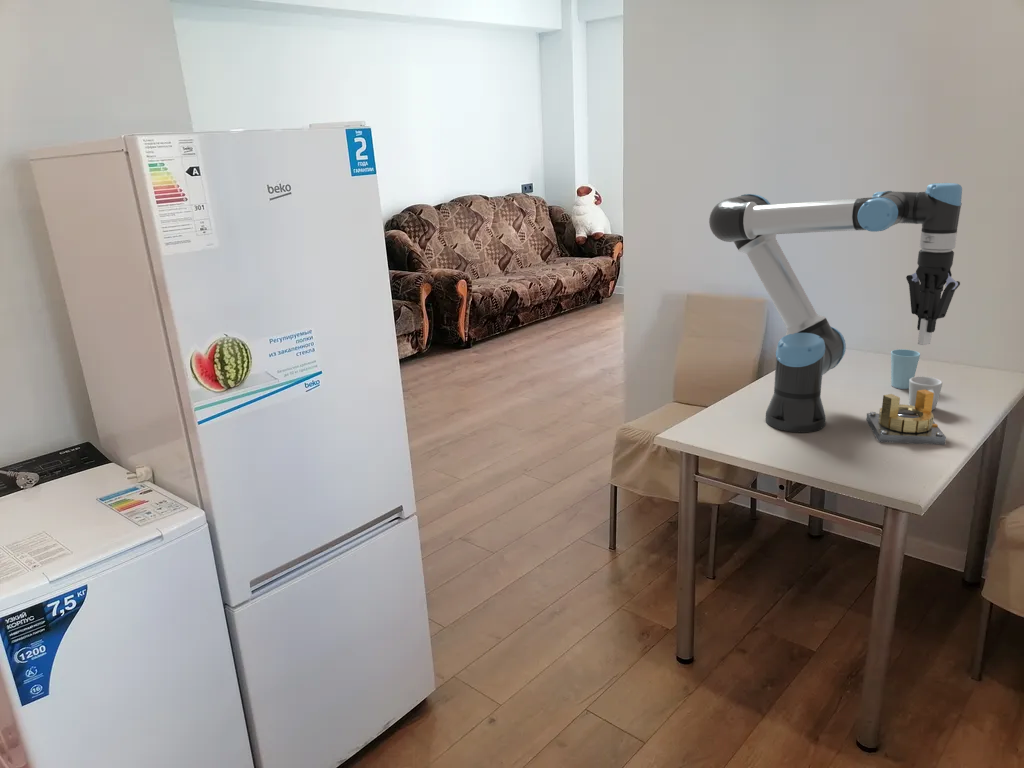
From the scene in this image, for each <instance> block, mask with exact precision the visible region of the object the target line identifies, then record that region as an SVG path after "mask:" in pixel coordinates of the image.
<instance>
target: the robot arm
mask: <svg viewBox="0 0 1024 768" xmlns="http://www.w3.org/2000/svg"><path fill="white" fill-rule="evenodd" d="M962 196H963V187H962V185H961V184H959V183H953V182H944V183H943V182H942V183H940V182H939V183H938V182H936V183H930V184H928V185H927V186H926V189H925V191H919V192H918V191H915V192H914V191H892V190H886V191H885V190H884V191H875V192H874V193H873V195H872V196H871V197H860V198H847V199H833V200H832V199H831V200H830V199H829V200H821V201H820V200H817V201H803V202H801V201H800V202H789V203H787V202H786V203H772V204H771V202H770V201H769V200H768V199H767V198H766V197H764V196H762V195H759V194H756V193H755V194H754V193H753V194H752V193H746V194H741V195H740V196H735V197H729V198H726V199H723V200H721V201H719V202H718V203H717V204H716V205H715V206H714V207H713V209H712V210H711V212H710V214H709V219H708V220H709V221H708V223H709V228H710V231H711V232H712V234H713V236H715V237H716V238H717V239H719V240H720V241H722V242H726V243H734V245H735V247H736V249H737V251H738V252H740V253H742V254H743V253H745V254H746V256H747V257H748V259H749V262H750V263H751V264H752V266H753V268H754V270H755V272H756V274H757V275H758V277H759V279H760V281H761V283H762V284H763V286H764V288H765V290H766V292H767V294H768V296H769V298H770V299H771V301H772V304H773V305H774V307H775V308H776V309H775V310H776V311H777V312H778V314H779V316H780V318H781V320H782V321H783V323H784V325H785V328H786V333H785V335H784V336H783V337H781V338H780V339H779V340H778V342H777V345H776V350H775V369H774V370H775V372H774V387H773V395H772V397H771V400H770V402H769V404H768V406H767V409H766V411H765V422H766V424H767V425H768V426H770V427H773V428H774V429H777V430H781V431H784V432H791V433H810V432H811V433H812V432H818V431H820V430H822V429H823V428H825V426H826V417H827V416H826V411H825V409H824V405H823V401H822V397H821V392H822V382H823V381H822V380H823V375H825V374H826V373H828V372H829V371H830V370H833V369H835V368H836V367H837V366H838V365H839V363H840V362H841V361H842V359H843V358H844V357H845V353H846V349H847V346H846V345H847V344H846V339H845V337H844V335H843V334H842V332H840V330H838V329H837V328H836V327H833V326H831V325H830V323H829V321H828V320H827V317H826V316H823V315H820V314H818V313H817V311H816V310H815V308H814V306H813V304H812V302H811V301H810V298H809V297H808V295H807V294H806V291H805V289H804V288H803V286H802V284H801V282H800V280H799V278H798V276H797V275H796V273H795V271H794V269H793V268H792V266H791V264H790V262H789V261H788V258H787V257H786V254H785V253H784V251H783V249H782V247H781V246H780V244H779V241H778V240H777V239H776V238H777V235H784V234H786V235H787V234H788V235H789V234H790V235H791V234H806V233H807V234H808V233H826V232H827V233H828V232H829V233H830V232H847V231H848V232H850V231H851V232H852V231H868V232H873V233H875V232H883V231H886V230H887V229H889V228H891V227H893V226H895V225H897V224H909V225H910V224H915V225H921V230H920V231H921V232H920V240H919V241H920V242H919V248H920V249H919V251H918V254H917V268H916V270H915V272H914V273H912V274H909V275H906V277H905V278H906V281H907V284H908V287H909V288H908V289H909V297H910V298H909V300H910V310H911V314H913V315H916V316H917V318H918V319H917V329H916V330H917V331H919V332H918V338H917V339H918V340H917V345H919V346H927V345H931V343H932V341H931V340H932V335H933V333H934V332H935V331H936V326H937V325H936V324H937V320H939V319H943V318H945V317H946V316H947V315H946V314H947V312H948V310H949V308H950V305H951V302H952V300H953V297H954V295H955V292H956V290H957V289H958V287H960V285H961V281H959V280H955V279H954V278H953V277H952V271H951V269H952V266H953V263H954V256H955V252H954V250H955V248H956V244H957V243H956V241H957V236H958V234H957V233H958V227H959V221H960V214H961V209H962ZM944 286H945V287H944Z"/></svg>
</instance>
